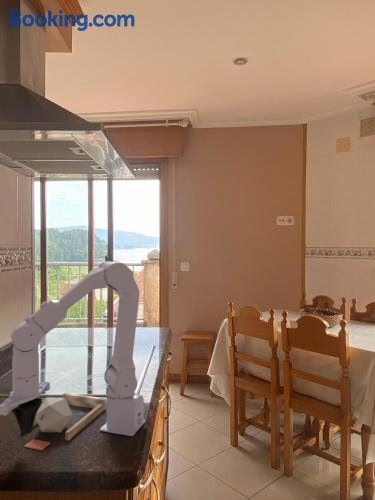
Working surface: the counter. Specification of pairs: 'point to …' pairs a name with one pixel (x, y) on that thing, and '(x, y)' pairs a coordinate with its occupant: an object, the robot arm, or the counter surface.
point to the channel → (82, 401)
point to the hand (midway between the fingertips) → (26, 431)
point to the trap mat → (37, 444)
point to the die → (53, 415)
